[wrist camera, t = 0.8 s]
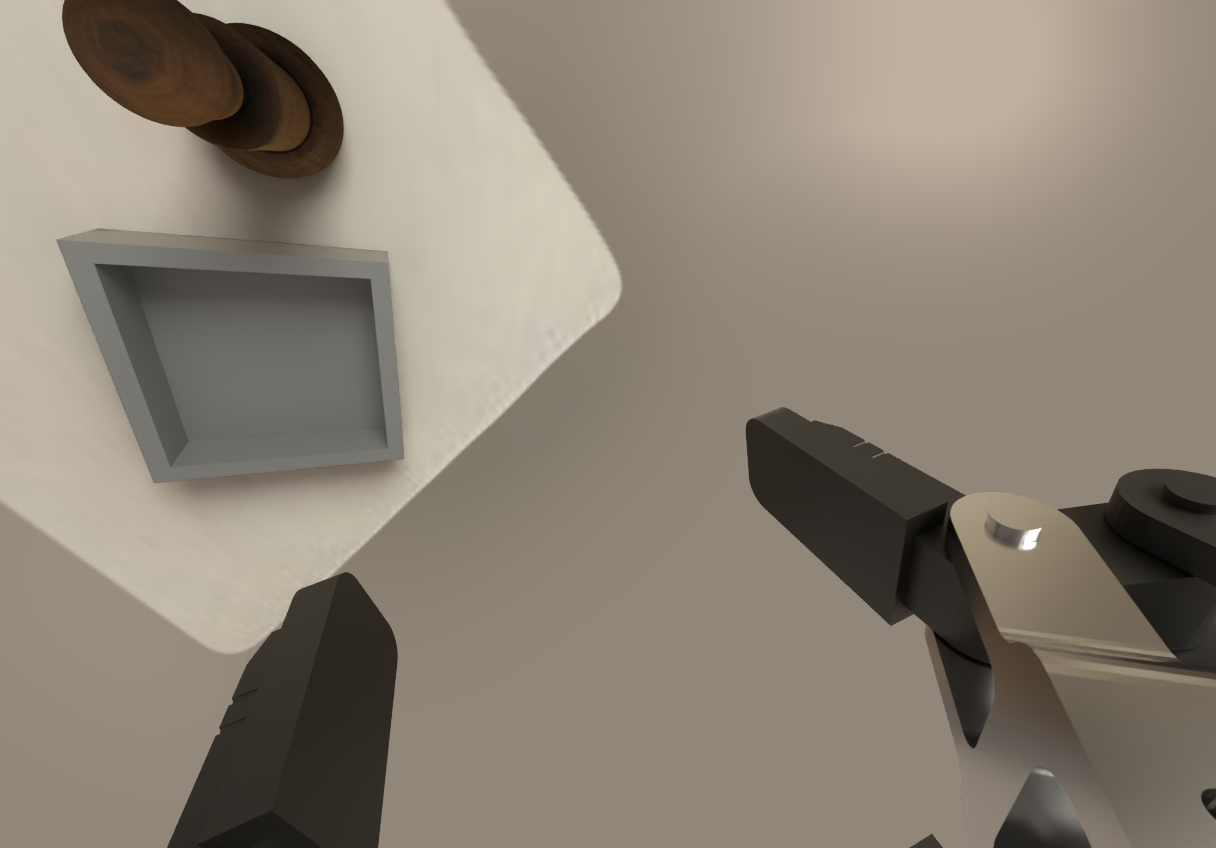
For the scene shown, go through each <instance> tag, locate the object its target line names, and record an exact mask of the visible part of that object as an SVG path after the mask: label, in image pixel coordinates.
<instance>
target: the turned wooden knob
mask: <svg viewBox="0 0 1216 848" xmlns="http://www.w3.org/2000/svg"><path fill="white" fill-rule="evenodd" d="M62 21H63V28H64V33H65V36H66V39H67V42H68V44H69V46H70V49H71V51H72V53H73V55H74V56H75V58H76V60H77V61H78V63H79V64H80V66H81V67H82V69H83V70H84V71H85V72H86V73H87V75H88V76H89V77H90V78H91V80H92V81H93V82H94V83H95V84H96V85H97V86H98V87H99V88H100V89H101V90H102V91H103V92H104V93H106V94H107V95H108V96H109V97H110V98H112V99H113V100H114V101H116V102H117V103H118V104H120V105H121V106H123V107H125V108H126V109H128V110H129V111H131V112H133V113H135V114H137V115H139V116H141V117H143V118H146V119H148V120H151V121H154V122H157V123H160V124H165V125H169V126H176V127H185V128H187V129H188V130H189V131H191V132H192V133H194V134H195V135H197V136H198V137H200V138H202V139H204V140H206V141H208V142H210V143H212V144H214V145H217V146H218V147H219V148H220V149H221V150H222V151H223V152H225V153H226V154H227V155H228V156H230V157H231V158H232V159H234V160H235V161H237V162H238V163H240V164H242V165H243V166H245V167H247V168H249V169H251V170H253V171H256V172H258V173H261V174H264V175H268V176H272V177H277V178H298V177H304V176H308V175H311V174H314V173H316V172H318V171H320V170H322V169H323V168H325V167H326V166H327V165H328V164H330V163H331V161H332V160H333V159H334V158H335V156H336V155H337V153H338V151H339V149H340V146H341V143H342V139H343V129H344V127H343V116H342V111H341V107H340V104H339V101H338V99H337V96H336V94H335V92H334V90H333V88H332V86H331V84H330V83H329V81H328V79H327V78H326V77H325V75H324V74H323V72H322V71H321V70H320V69H319V67H318V66H317V65H316V64H315V63H314V62H313V60H312V59H311V58H310V57H309V56H308V55H307V54H306V53H304V52H303V51H302V50H301V49H300V48H299V47H297V46H296V45H295V44H293V43H292V42H290V41H289V40H287V39H286V38H284V37H282V36H280V35H279V34H277V33H274V32H272V31H270V30H268V29H265V28H262V27H259V26H255V25H250V24H244V23H228V24H225V23H223V22H221V21H219V20H217V19H215V18H212V17H209V16H206V15H202V14H197V13H192V12H191V11H190V10H189V9H187V8H186V7H185V6H184V5H182V4H181V3H180V2H178V1H177V0H65V1H64V4H63V11H62Z"/></svg>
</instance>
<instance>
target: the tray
mask: <svg viewBox="0 0 1216 848" xmlns="http://www.w3.org/2000/svg"><path fill="white" fill-rule="evenodd" d="M56 241H57V243H58V246H59V248H60V250H61V253H62V255H63V258H64V260H65V263H66V265H67V268H68V270H69V273H70V275H71V278H72V280H73V283H74V285H75V288H76V290H77V293H78V295H79V298H80V300H81V303H82V305H83V308H84V310H85V313H86V315H87V318H88V320H89V323H90V325H91V328H92V330H93V333H94V335H95V337H96V340H97V342H98V345H99V347H100V350H101V352H102V355H103V357H104V360H105V362H106V365H107V367H108V370H109V372H110V375H111V377H112V380H113V382H114V385H115V387H116V390H117V392H118V395H119V397H120V400H121V402H122V405H123V407H124V410H125V412H126V415H127V417H128V420H129V422H130V424H131V427H132V429H133V432H134V434H135V437H136V439H137V442H138V444H139V447H140V449H141V452H142V454H143V457H144V459H145V462H146V464H147V467H148V469H149V472H150V474H151V477H152V479H153V482H154V483H161V482H171V481H181V480H192V479H202V478H213V477H223V476H233V475H244V474H254V473H265V472H275V471H286V470H296V469H306V468H317V467H327V466H338V465H348V464H358V463H369V462H379V461H390V460H400V459H404V449H403V434H402V422H401V410H400V398H399V386H398V374H397V362H396V350H395V338H394V326H393V314H392V302H391V290H390V278H389V267H388V255H387V251H374V250H362V249H349V248H336V247H324V246H311V245H298V244H286V243H273V242H261V241H248V240H235V239H223V238H210V237H197V236H185V235H172V234H159V233H147V232H134V231H122V230H109V229H96V230H92V231H88V232H84V233H80V234H76V235H72V236H69V237H65V238H61V239H57V240H56Z"/></svg>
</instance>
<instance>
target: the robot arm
mask: <svg viewBox="0 0 1216 848" xmlns="http://www.w3.org/2000/svg"><path fill="white" fill-rule="evenodd" d="M746 441H747V455H748V468H749V481H750V485H751V488H752V490H753V493H754V494H755V496H756V498H757V500H758V501H759V502H760V504H761V505H762V506H763V507H764V508H765V509H766V510H767V511H768V512H769V513H770V514H771V515H772V516H774V517H775V518H776V519H777V520H778V521H779V522H780V523H781V524H782V525H783V526H784V527H785V528H786V529H788V530H789V531H790V532H791V533H792V534H793V535H794V536H795V537H796V538H797V539H798V540H799V541H800V542H801V543H803V544H804V545H805V546H806V547H807V548H808V549H809V550H810V551H811V552H812V553H813V554H814V555H815V556H816V557H818V558H819V559H820V560H821V561H822V562H823V563H824V564H825V565H826V566H827V567H828V568H829V569H830V570H832V571H833V572H834V573H835V574H836V575H837V576H838V577H839V578H840V579H841V580H842V581H843V582H845V584H846V585H848V586H849V587H850V588H851V589H852V590H853V591H854V592H855V593H856V594H857V595H858V596H859V597H860V598H862V599H863V600H864V601H865V602H866V603H867V604H868V605H869V606H870V607H871V608H872V609H873V610H874V611H875V612H877V613H878V614H879V615H880V616H881V617H882V618H883V619H884V620H885V621H886V622H887V623H888V624H889V625H893V624H895V623H897V622H899V621H901V620H903V619H905V618H907V617H909V616H911V615H913V614H915V615H916V616H917V617H918V618H920V619H921V620H922V621H923V622H924V623H925V624H926V626H925V638H926V642H927V646H928V649H929V654H930V657H931V660H932V664H933V668H934V671H935V675H936V679H937V682H938V686H939V689H940V693H941V696H942V700H943V704H944V707H945V711H946V714H947V718H948V722H949V725H950V729H951V732H952V736H953V739H954V743H955V747H956V750H957V755H958V759H959V765H960V776H961V803H962V811H963V817H964V823H965V828H966V832H967V837H968V841H969V844H970V848H1216V478H1215V477H1212V476H1208V475H1203V474H1199V473H1194V472H1188V471H1181V470H1172V469H1171V470H1170V469H1144V470H1137V471H1133V472H1130V473H1127V474H1125V475H1124V476H1122V477H1121V478H1120V479H1119V480H1118V483H1117V485H1116V487H1115V489H1114V492H1113V494H1112V496H1111V498H1110V501H1109V503H1103V504H1095V505H1088V506H1080V507H1073V508H1065V509H1058V510H1056V509H1054V508H1053V507H1050V506H1049V505H1046V504H1044V503H1042V502H1039V501H1036V500H1033V499H1030V498H1027V497H1023V496H1019V495H1014V494H1009V493H999V492H982V493H975V494H970V495H967V496H966V495H964V494H962V493H960V492H958V491H956V490H955V489H953V488H951V487H949V486H947V485H945V484H944V483H942V482H940V481H938V480H936V479H935V478H933V477H931V476H929V475H927V474H925V473H924V472H922V471H920V470H918V469H916V468H915V467H912V466H911V465H909V464H907V463H905V462H903V461H902V460H900V459H898V458H896V457H894V456H893V455H891V454H889V453H887V454H885V453H884V452H883V450H881V449H880V448H878V447H876V446H874V445H873V444H871V443H865V441H864V440H863V439H862V438H860V437H858V436H856V435H854V434H853V433H851V432H849V431H847V430H845V429H843V428H841V427H837V426H834V425H830V424H826V423H822V422H818V421H812V422H810V421H808V420H806V419H805V418H803V417H802V416H800V415H798V414H797V413H795V412H793V411H791V410H790V409H787V408H784V407H783V408H779V409H776V410H773V411H771V412H768V413H765V414H763V415H760V416H758V417H755V418H752V419H750V420H749V421H748V422H747V425H746ZM397 660H398V655H397V645H396V640H395V637H394V634H393V631H392V629H391V627H390V625H389V624H388V622H387V621H386V620H385V618H384V617H383V615H382V614H381V612H380V611H379V610H378V608H377V607H376V605H375V604H374V603H373V602H372V600H371V598H370V597H369V596H368V594H367V593H366V591H365V590H364V589H363V587H362V586H361V584H360V583H359V582H358V580H357V579H356V578H355V577H354V576H353V575H352V574H350V573H348V572H345V573H342V574H339V575H336V576H334V577H331V578H329V579H326V580H323V581H321V582H318V583H315V584H313V585H310V586H308V587H305V588H302V589H300V590H298V591H297V592H296V594H295V595H294V597H293V599H292V602H291V605H290V607H289V610H288V612H287V615H286V617H285V620H284V623H283V625H282V628H281V629H279V630H276V631H274V632H272V633H271V634H270V635H269V637H268V638H267V639H266V641H265V642H264V643H263V645H262V646H261V647H260V648H259V650H258V651H257V652H256V653H255V655H254V656H253V658H252V659H251V660H250V661H249V663H248V664H247V665H246V668H245V670H244V672H243V674H242V677H241V679H240V681H239V684H238V686H237V688H236V690H235V693H234V695H233V697H232V700H233V704H232V705H230V706H228V709H227V711H226V713H225V716H224V718H223V720H222V723H221V725H220V727H219V728H220V734H219V735H217V736H216V737H215V739H214V741H213V743H212V746H211V748H210V750H209V753H208V755H207V757H206V759H205V762H204V764H203V766H202V769H201V771H200V773H199V775H198V778H197V780H196V782H195V785H194V787H193V789H192V792H191V794H190V796H189V798H188V801H187V803H186V805H185V808H184V810H183V812H182V815H181V817H180V819H179V821H178V824H177V826H176V828H175V831H174V833H173V835H172V838H171V840H170V842H169V845H168V847H167V848H378V843H379V833H380V823H381V814H382V805H383V795H384V785H385V776H386V766H387V757H388V747H389V737H390V728H391V718H392V709H393V699H394V689H395V679H396V670H397ZM910 848H943V847H942V846H941V845H940V844H939V842H938V841H937V840H936V838H935V837H934V836H933V835H932V834H931V835H929V836H928V837H926V838H925V839H923V840H921V841H920V842H918V843H917V844H915V845H913V846H912V847H910Z"/></svg>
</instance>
